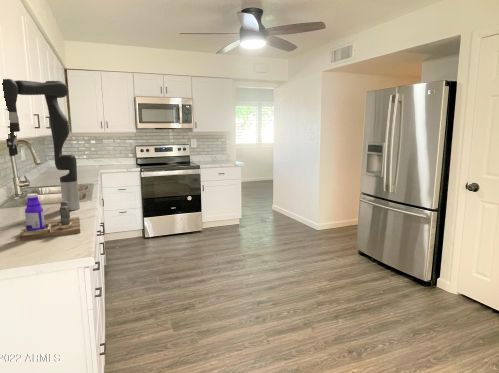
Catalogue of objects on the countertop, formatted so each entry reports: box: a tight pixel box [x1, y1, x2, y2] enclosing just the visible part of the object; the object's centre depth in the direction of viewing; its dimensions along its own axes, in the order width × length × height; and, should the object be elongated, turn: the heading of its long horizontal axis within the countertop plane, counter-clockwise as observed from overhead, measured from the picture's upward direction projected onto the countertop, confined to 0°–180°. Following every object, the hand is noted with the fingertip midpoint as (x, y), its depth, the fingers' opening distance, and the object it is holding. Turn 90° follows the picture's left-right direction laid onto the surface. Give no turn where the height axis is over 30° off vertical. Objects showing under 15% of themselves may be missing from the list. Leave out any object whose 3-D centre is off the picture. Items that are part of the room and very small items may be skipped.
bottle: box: [24, 193, 45, 231], centre depth 156 cm, size 7×6×17 cm
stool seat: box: [19, 201, 81, 241], centre depth 165 cm, size 24×24×12 cm
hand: (13, 155), depth 167 cm, fingers open, 8 cm apart
